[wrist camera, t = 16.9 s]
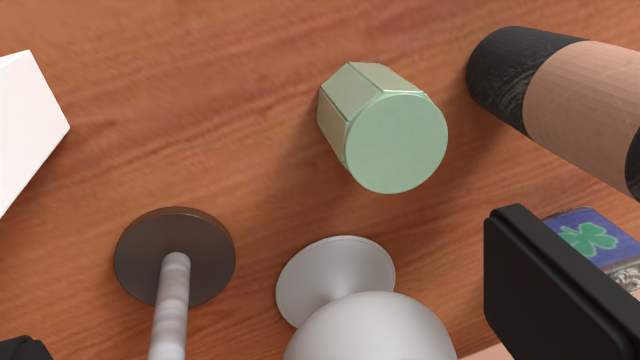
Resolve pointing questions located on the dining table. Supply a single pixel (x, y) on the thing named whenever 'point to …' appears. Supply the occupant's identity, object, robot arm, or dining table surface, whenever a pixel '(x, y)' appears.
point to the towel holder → (173, 270)
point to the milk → (25, 124)
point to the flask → (600, 243)
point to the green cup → (381, 127)
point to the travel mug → (565, 98)
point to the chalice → (354, 307)
